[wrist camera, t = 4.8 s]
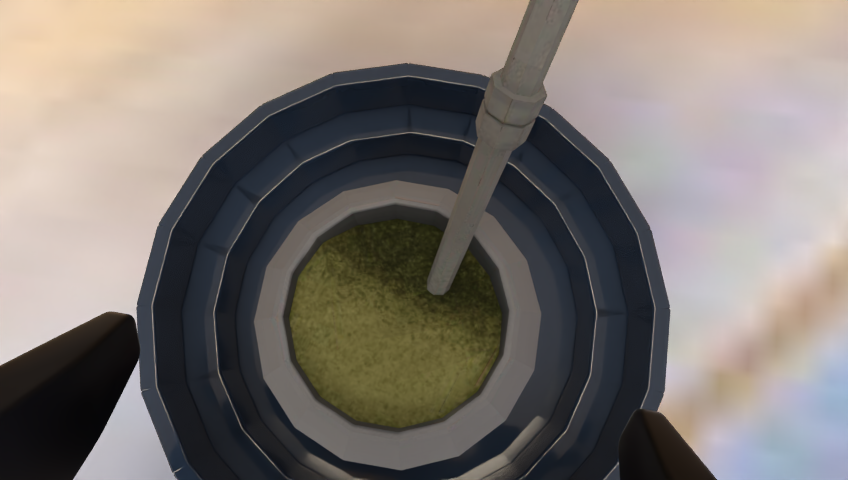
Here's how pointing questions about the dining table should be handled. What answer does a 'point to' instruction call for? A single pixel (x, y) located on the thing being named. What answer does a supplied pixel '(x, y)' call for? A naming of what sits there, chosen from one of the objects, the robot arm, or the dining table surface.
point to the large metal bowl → (422, 164)
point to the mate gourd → (413, 295)
